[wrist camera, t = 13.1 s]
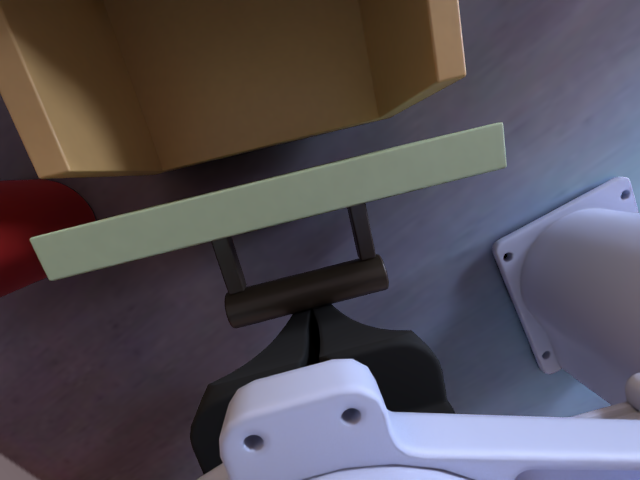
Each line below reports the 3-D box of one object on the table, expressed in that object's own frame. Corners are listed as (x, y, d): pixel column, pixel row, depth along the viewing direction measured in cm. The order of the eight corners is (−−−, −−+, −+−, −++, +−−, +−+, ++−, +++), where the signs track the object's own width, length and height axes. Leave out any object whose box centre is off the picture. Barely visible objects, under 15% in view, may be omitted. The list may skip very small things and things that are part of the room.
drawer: (424, 244, 16) (518, 298, 9) (188, 304, 15) (108, 405, 9) (360, -154, 12) (445, -565, 5) (43, -85, 11) (-298, -429, 5)
